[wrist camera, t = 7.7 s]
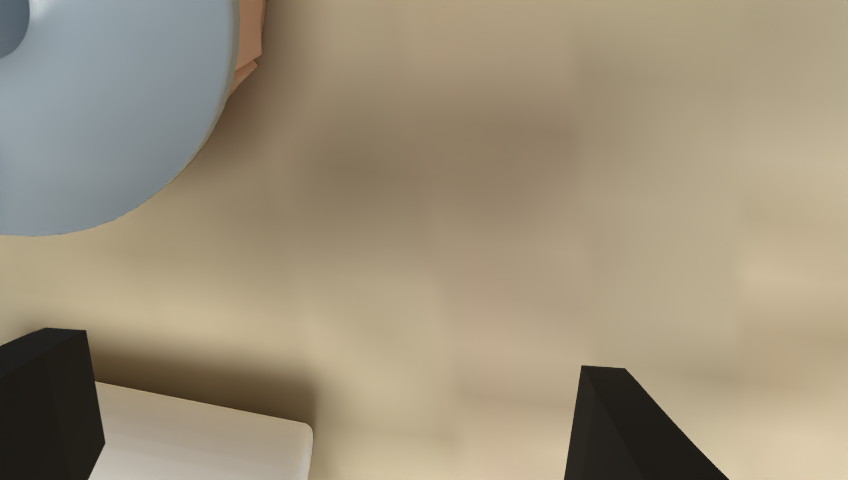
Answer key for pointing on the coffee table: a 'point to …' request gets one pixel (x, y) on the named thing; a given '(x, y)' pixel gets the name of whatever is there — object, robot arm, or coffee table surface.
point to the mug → (195, 440)
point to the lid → (105, 103)
